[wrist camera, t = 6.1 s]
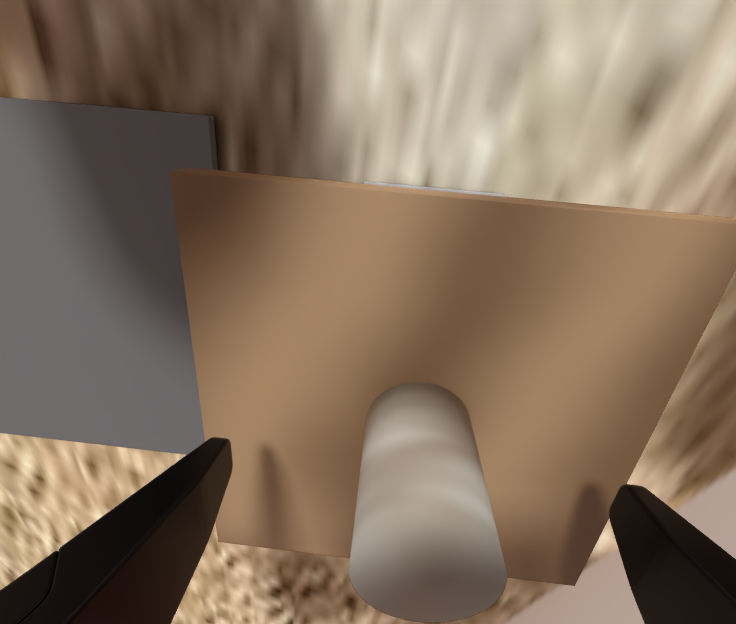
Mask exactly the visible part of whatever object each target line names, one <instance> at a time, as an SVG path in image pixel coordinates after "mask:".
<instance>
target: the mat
mask: <svg viewBox="0 0 736 624" xmlns="http://www.w3.org/2000/svg"><path fill="white" fill-rule="evenodd" d="M188 167H189V168H200V169H210V170H218V163H217V150H216V138H215V126H214V116H208V115H197V114H186V113H175V112H163V111H152V110H141V109H129V108H118V107H107V106H96V105H84V104H73V103H62V102H50V101H39V100H28V99H17V98H5V97H0V433H7V434H16V435H24V436H33V437H41V438H50V439H58V440H67V441H76V442H84V443H93V444H101V445H110V446H119V447H127V448H136V449H144V450H153V451H161V452H170V453H179V454H187V455H188V454H189V453H190V452H192V451H193V450H194V449H196V448H197V447H198V446H200V445H201V444H203V443H204V442H205V437H204V429H203V422H202V414H201V407H200V399H199V391H198V384H197V376H196V369H195V361H194V353H193V346H192V338H191V331H190V323H189V315H188V308H187V300H186V293H185V285H184V277H183V270H182V262H181V255H180V247H179V239H178V232H177V224H176V217H175V209H174V201H173V194H172V186H171V179H170V171H173V170H178V169H183V168H188Z"/></svg>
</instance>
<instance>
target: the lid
mask: <svg viewBox="0 0 736 624" xmlns="http://www.w3.org/2000/svg"><path fill="white" fill-rule="evenodd" d="M170 179H171V186H172V194H173V201H174V209H175V217H176V224H177V232H178V239H179V247H180V255H181V262H182V270H183V277H184V285H185V293H186V300H187V308H188V315H189V323H190V331H191V338H192V346H193V353H194V361H195V369H196V376H197V384H198V391H199V399H200V407H201V414H202V422H203V429H204V437H205V441H207V440H208V439H210V438H212V437H220V438H227V439H229V440H230V442H231V450H232V460H233V469H232V474H231V477H230V480H229V483H228V486H227V488H226V491H225V494H224V497H223V500H222V503H221V506H220V509H219V512H218V515H217V518H216V528H217V536H218V542H224V543H232V544H240V545H248V546H256V547H264V548H272V549H280V550H288V551H297V552H305V553H313V554H321V555H329V556H337V557H345V558H350V564H349V577H350V581H351V584H352V586H353V588H354V589H355V591H356V592H357V594H358V595H359V596H360V597H361V598H362V599H363V600H364V601H365V602H366V603H368V604H369V605H371V606H372V607H374V608H375V609H377V610H379V611H381V612H383V613H385V614H388V615H390V616H393V617H396V618H400V619H404V620H408V621H414V622H424V623H440V622H450V621H456V620H461V619H464V618H468V617H471V616H473V615H476V614H478V613H480V612H482V611H484V610H485V609H487V608H488V607H490V606H491V605H493V604H494V603H495V602H496V601H497V600H498V598H499V597H500V596H501V595H502V593H503V591H504V589H505V586H506V582H507V577H508V578H516V579H524V580H532V581H540V582H548V583H556V584H564V585H573V586H575V584H576V582H577V580H578V578H579V576H580V574H581V572H582V570H583V568H584V566H585V564H586V562H587V560H588V558H589V556H590V554H591V553H592V551H593V549H594V547H595V545H596V543H597V541H598V539H599V537H600V535H601V533H602V531H603V529H604V527H605V525H606V523H607V521H608V519H609V509H610V506H611V504H612V502H613V500H614V498H615V496H616V494H617V492H618V490H619V488H620V487H621V486H622V485H624V484H627V482H628V480H629V478H630V476H631V474H632V472H633V470H634V468H635V466H636V464H637V462H638V460H639V458H640V456H641V454H642V452H643V450H644V448H645V446H646V444H647V443H648V441H649V439H650V437H651V435H652V433H653V431H654V429H655V427H656V425H657V423H658V421H659V419H660V417H661V415H662V413H663V411H664V409H665V407H666V405H667V403H668V401H669V399H670V397H671V395H672V393H673V391H674V389H675V388H676V386H677V384H678V382H679V380H680V378H681V376H682V374H683V372H684V370H685V368H686V366H687V364H688V362H689V360H690V358H691V356H692V354H693V352H694V350H695V348H696V346H697V344H698V342H699V340H700V338H701V336H702V334H703V333H704V331H705V329H706V327H707V325H708V323H709V321H710V319H711V317H712V315H713V313H714V311H715V309H716V307H717V305H718V303H719V301H720V299H721V297H722V295H723V293H724V291H725V289H726V287H727V285H728V283H729V281H730V279H731V278H732V276H733V274H734V272H735V270H736V220H735V219H731V218H728V217H717V216H706V215H695V214H684V213H674V212H663V211H652V210H641V209H631V208H620V207H609V206H598V205H587V204H577V203H566V202H555V201H544V200H534V199H523V198H512V197H501V196H491V195H480V194H469V193H458V192H447V191H437V190H426V189H415V188H404V187H394V186H383V185H372V184H361V183H350V182H340V181H329V180H318V179H307V178H297V177H286V176H275V175H264V174H253V173H243V172H232V171H221V170H210V169H200V168H189V167H188V168H183V169H178V170H173V171H170Z"/></svg>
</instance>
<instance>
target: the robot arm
mask: <svg viewBox="0 0 736 624" xmlns="http://www.w3.org/2000/svg"><path fill="white" fill-rule="evenodd" d="M232 469H233V460H232V450H231V442H230V440H229V439H227V438H220V437H212V438H210V439H208V440H207V441H205V442H204V443H203V444H201V445H200V446H198V447H197V448H196V449H194V450H193V451H192V452H190V453H189V454H188V455H186V456H185V457H183V458H182V459H181V460H179V461H178V462H177V463H175V464H174V465H172V466H171V467H170V468H168V469H167V470H166V471H164V472H163V473H162V474H160V475H159V476H157V477H156V478H155V479H153V480H152V481H151V482H149V483H148V484H147V485H145V486H144V487H142V488H141V489H140V490H138V491H137V492H136V493H134V494H133V495H131V496H130V497H129V498H127V499H126V500H125V501H123V502H122V503H121V504H119V505H118V506H116V507H115V508H114V509H112V510H111V511H110V512H108V513H107V514H105V515H104V516H103V517H101V518H100V519H99V520H97V521H96V522H95V523H93V524H92V525H90V526H89V527H88V528H86V529H85V530H84V531H82V532H81V533H79V534H78V535H77V536H75V537H74V538H73V539H71V540H70V541H69V542H67V543H66V544H64V545H63V546H62V547H60V549H59V552H58V551H55V552H53V553H52V554H51V555H49V556H48V557H46V558H45V559H44V560H42V561H41V562H40V563H38V564H37V565H35V566H34V567H33V568H31V569H30V570H28V571H27V572H26V573H24V574H23V575H21V576H20V577H18V578H17V579H16V580H14V581H13V582H11V583H10V584H9V585H7V586H6V587H4V588H3V589H1V590H0V624H171V622H172V620H173V618H174V615H175V613H176V611H177V609H178V607H179V604H180V602H181V600H182V598H183V596H184V594H185V591H186V589H187V587H188V585H189V583H190V580H191V578H192V576H193V574H194V572H195V570H196V567H197V565H198V563H199V561H200V559H201V556H202V554H203V552H204V550H205V548H206V545H207V543H208V541H209V538H210V535H211V532H212V530H213V527H214V524H215V521H216V518H217V515H218V512H219V509H220V506H221V503H222V500H223V497H224V494H225V491H226V488H227V486H228V483H229V480H230V477H231V474H232ZM609 518H610V522H611V525H612V529H613V532H614V535H615V538H616V542H617V545H618V548H619V552H620V555H621V558H622V561H623V565H624V568H625V571H626V574H627V578H628V581H629V584H630V587H631V590H632V593H633V595H634V598H635V600H636V603H637V605H638V608H639V610H640V613H641V615H642V618H643V620H644V623H645V624H736V559H735V558H733V557H732V556H731V555H730V554H728V553H727V552H726V551H725V550H723V549H722V548H721V547H720V546H718V545H717V544H716V543H714V542H713V541H712V540H711V539H709V538H708V537H707V536H706V535H704V534H703V533H702V532H700V531H699V530H698V529H697V528H695V527H694V526H693V525H692V524H690V523H689V522H688V521H687V520H685V519H684V518H683V517H681V516H680V515H679V514H678V513H676V512H675V511H674V510H673V509H671V508H670V507H669V506H668V505H666V504H665V503H664V502H663V501H661V500H660V499H659V498H657V497H656V496H655V495H654V494H652V493H651V492H650V491H649V490H647V489H646V488H644V487H642V486H637V485H628V484H624V485H622V486H621V487H620V488H619V490H618V492H617V494H616V496H615V498H614V500H613V502H612V504H611V506H610V509H609Z"/></svg>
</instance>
